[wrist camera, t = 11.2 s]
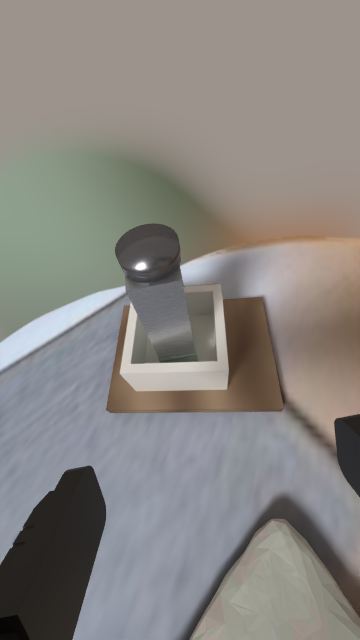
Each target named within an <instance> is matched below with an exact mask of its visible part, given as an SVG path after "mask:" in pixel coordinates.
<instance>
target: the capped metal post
mask: <svg viewBox="0 0 360 640" xmlns="http://www.w3.org/2000/svg"><path fill="white" fill-rule="evenodd" d="M115 254H116V257H117V259H118V261H119V264H120V266H121V268H122V270H123V272H124V274H125V276H126V278H125V279H126V293H127V295H128V297H129V299H130V301H131V303H132V305H133V307H134V309H135V311H136V313H137V315H138V317H139V319H140V321H141V323H142V325H143V327H144V329H145V331H146V333H147V335H148V337H149V339H150V341H151V343H152V345H153V348H154V350H155V352H156V354H157V356H158V360H159V363H176V362H198V358H197V352H196V347H195V342H194V336H193V331H192V326H191V320H190V315H189V314H188V309H187V303H186V298H185V292H184V286H183V281H182V275H181V270H180V262H181V251H180V245H179V239H178V236H177V234H176V233H175V231H174V230H173V229H172V228H170V227H168V226H165V225H162V224H145V225H141V226H138V227H136V228H133V229H131V230H129V231H128V232H126V233H125V234H124V235H123V236H122V237H121V238H120V239H119V241H118V242H117V244H116V247H115Z"/></svg>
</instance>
